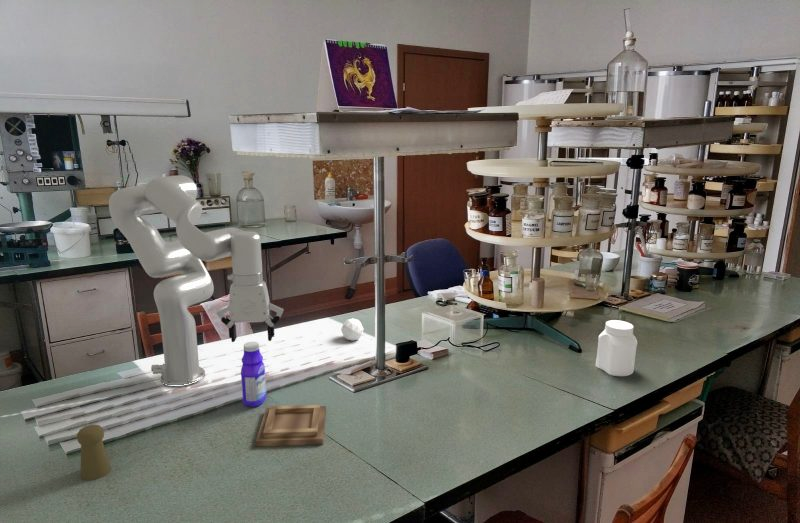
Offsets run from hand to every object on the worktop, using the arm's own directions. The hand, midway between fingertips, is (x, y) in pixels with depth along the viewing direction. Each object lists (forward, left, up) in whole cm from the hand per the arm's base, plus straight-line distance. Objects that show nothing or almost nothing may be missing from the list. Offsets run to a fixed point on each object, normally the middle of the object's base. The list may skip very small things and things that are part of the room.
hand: (252, 339), depth 153 cm
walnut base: (+12, -14, -19) cm, 26 cm away
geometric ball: (+27, +44, -19) cm, 55 cm away
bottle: (0, 0, -19) cm, 19 cm away
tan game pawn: (-30, -30, -19) cm, 47 cm away
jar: (+111, +16, -19) cm, 113 cm away
